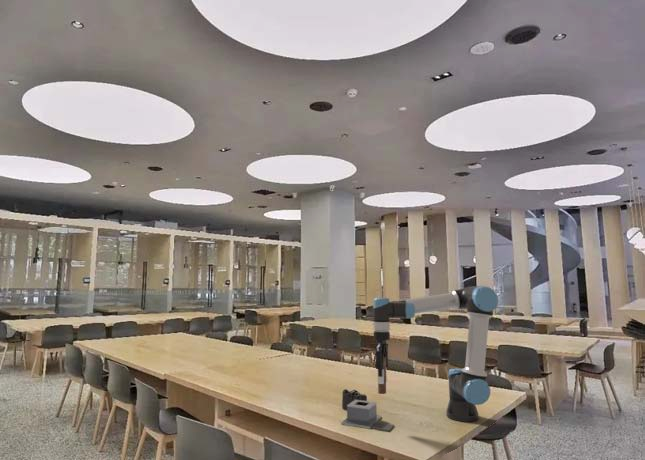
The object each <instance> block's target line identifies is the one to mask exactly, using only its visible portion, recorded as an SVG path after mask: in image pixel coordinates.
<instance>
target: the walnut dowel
mask: <svg viewBox="0 0 645 460" xmlns="http://www.w3.org/2000/svg"><path fill="white" fill-rule="evenodd" d="M383 369H384V384H378V383H377V385H378V386H377V393H378V394H381V395H386V394H387V382H386V373H387V367H386V357H383Z"/></svg>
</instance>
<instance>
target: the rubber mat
mask: <svg viewBox="0 0 645 460" xmlns="http://www.w3.org/2000/svg"><path fill="white" fill-rule="evenodd" d="M394 427H395V424H391V423H382V422H379V421H377V422H376V423H375V424H374V425H373V426H372V427H371V429H372V430H375V431H382V432H389V433H390V432H391V431H392V430H393V428H394Z"/></svg>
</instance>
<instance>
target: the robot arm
mask: <svg viewBox="0 0 645 460" xmlns="http://www.w3.org/2000/svg"><path fill="white" fill-rule="evenodd" d="M498 304H499V297H498V294H497V293H496V292H495V290H494V289H492V288H491V287H489V286H485V285H473V286H466V287H464V288H460V289H454V290H452V291H451V292H449V293H441V294H435V295H429V296H422V297H415V298H409V299H401V300H392V301H390V299H389V298H388V297H375V298H374V299H373V307H372V311H373V323H372V326H373V339H374V340H376V341H377V343H376V346H374V347H375V348H374V350H375V369H376V370H377V385H378V384H384V369H383V357H386V368H389V365H388V364H389V363H388V362H389V349H388V348H389V343H387V341H390V339H391V338H390V337H391V335H390V334H391V332H390V330H391V329H390V326H391V325H390V324H391V323H390V321H391V320H390V319H413V318H414V317H415V315H416V314H419V313H420V314H421V313H429V312H433V311H434V312H435V311H441V310H448V309H455V310H463V309H466V313H467V314H468V316H469V321H468V322H469V323H468V333H467V343H466V355H465V364H464V365H465V366H464V368H450V369H449V370H448V376H447V377H448V390H449V391H448V392H449V399H448V404H447V406H446V417H447V418H448V419H451V420H453V421H458V422H466V423H467V422H469V423H470V422H477V421H479V416H480V415H479V411H478V409H477V406H481V405H483V404H485V403H486V402H488V400H489V398H490V396H491V387H490V386H489V383H488V374H487V372H486V371H485V368H486V357H487V355H486V354H487V345H488V343H487V342H488V335H489V333H488V332H489V322H490V319H491V318H493V316H494V311H495V309H496V308H498ZM387 376H388V375H387V372H386V383H387V380H388V379H387V378H388V377H387Z"/></svg>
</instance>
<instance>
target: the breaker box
mask: <svg viewBox="0 0 645 460" xmlns="http://www.w3.org/2000/svg"><path fill="white" fill-rule="evenodd" d="M346 414H347V415H346V418H345V419H344V420H342V421H341V425H342V426H343V425H344V426H350V427H356V426H357V427H358V428H363V429H372V427H373V426H374V425H375V424H376V423H377V422H379V420H381V418H382V415H379V414H377V402H376V401H370V400H367V401H363V400H354V401H352V402H351V403H350V404H348V405H347V410H346Z"/></svg>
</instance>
